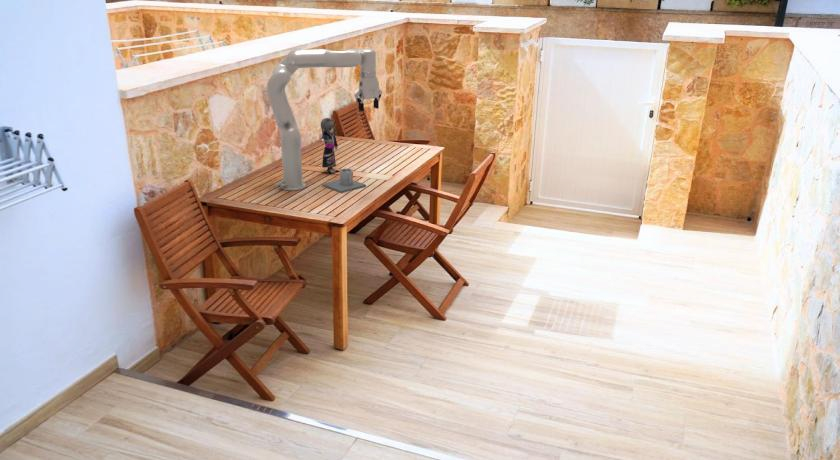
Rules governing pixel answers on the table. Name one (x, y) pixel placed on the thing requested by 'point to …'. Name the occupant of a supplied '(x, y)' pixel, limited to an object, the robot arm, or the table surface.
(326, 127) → the figurine
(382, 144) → the table surface
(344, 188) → the flange
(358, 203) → the table surface
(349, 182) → the duct sleeve
